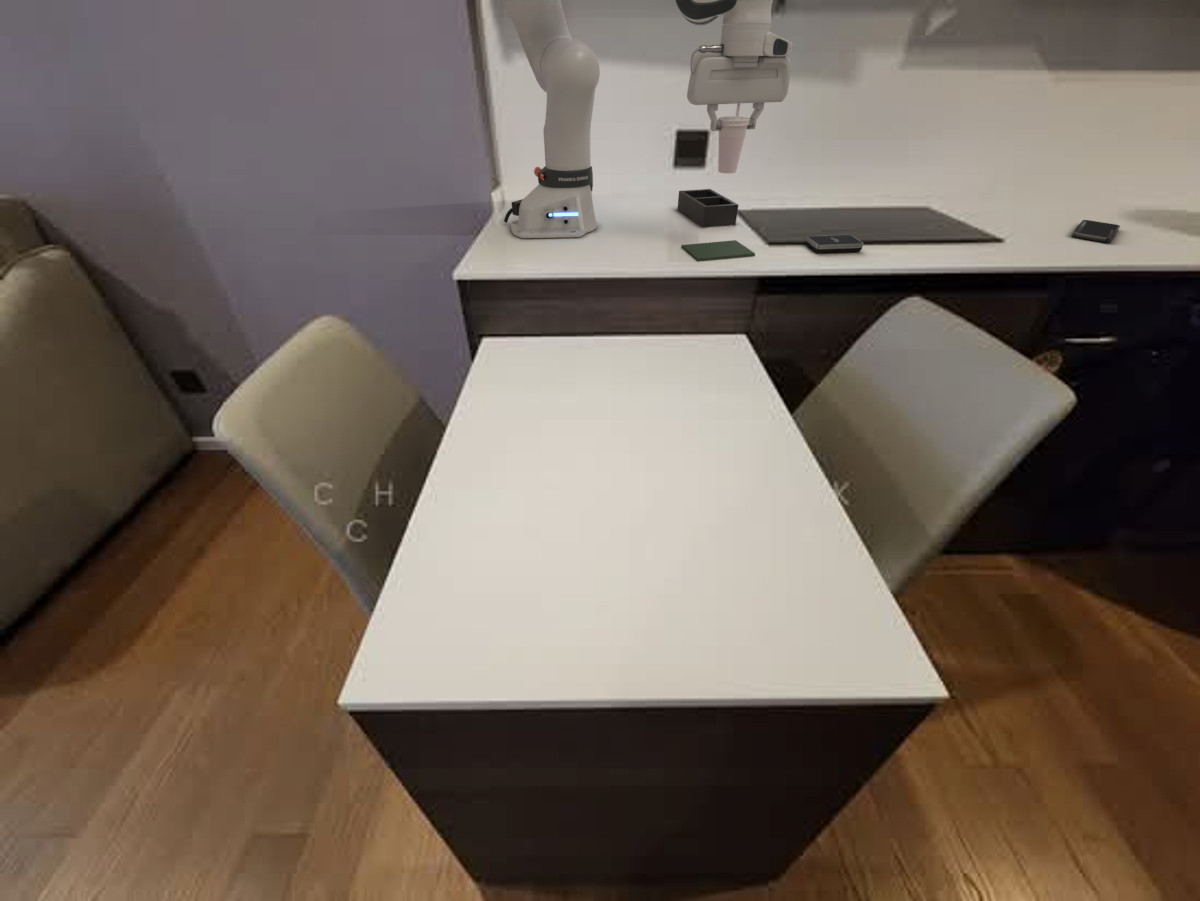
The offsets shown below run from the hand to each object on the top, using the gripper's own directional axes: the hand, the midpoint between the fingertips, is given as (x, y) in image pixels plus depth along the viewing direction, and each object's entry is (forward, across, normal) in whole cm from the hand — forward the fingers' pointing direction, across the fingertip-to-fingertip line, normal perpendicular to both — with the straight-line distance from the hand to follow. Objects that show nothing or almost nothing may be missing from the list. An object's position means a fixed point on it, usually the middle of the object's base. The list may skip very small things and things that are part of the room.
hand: (732, 129), depth 108 cm
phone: (+24, +97, -12) cm, 101 cm away
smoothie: (+8, 0, 0) cm, 8 cm away
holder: (+24, +9, +27) cm, 38 cm away
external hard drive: (+24, +27, -6) cm, 37 cm away
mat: (+24, 0, -1) cm, 24 cm away
